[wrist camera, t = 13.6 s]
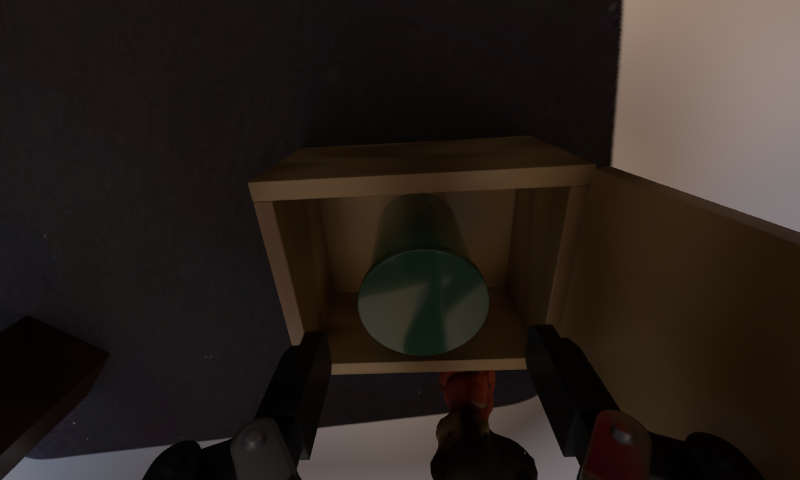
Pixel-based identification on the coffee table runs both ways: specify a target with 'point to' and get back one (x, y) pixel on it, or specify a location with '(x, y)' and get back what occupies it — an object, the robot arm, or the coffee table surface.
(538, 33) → the coffee table surface
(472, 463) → the figurine
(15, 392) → the tall pedestal column
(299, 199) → the chest
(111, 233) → the coffee table surface
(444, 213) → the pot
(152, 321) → the coffee table surface
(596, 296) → the lid
